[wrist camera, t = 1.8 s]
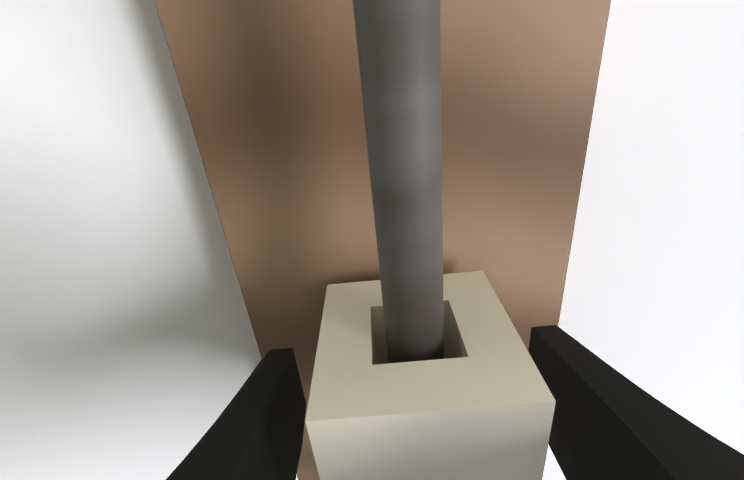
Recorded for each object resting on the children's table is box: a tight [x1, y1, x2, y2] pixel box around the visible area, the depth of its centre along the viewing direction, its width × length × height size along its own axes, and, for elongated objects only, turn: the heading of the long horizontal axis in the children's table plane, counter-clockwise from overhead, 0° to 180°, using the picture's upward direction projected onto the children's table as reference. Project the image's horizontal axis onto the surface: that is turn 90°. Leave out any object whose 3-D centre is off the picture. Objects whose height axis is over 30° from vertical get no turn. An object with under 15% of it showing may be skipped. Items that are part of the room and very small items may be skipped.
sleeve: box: [305, 271, 556, 480], centre depth 9 cm, size 4×4×4 cm
